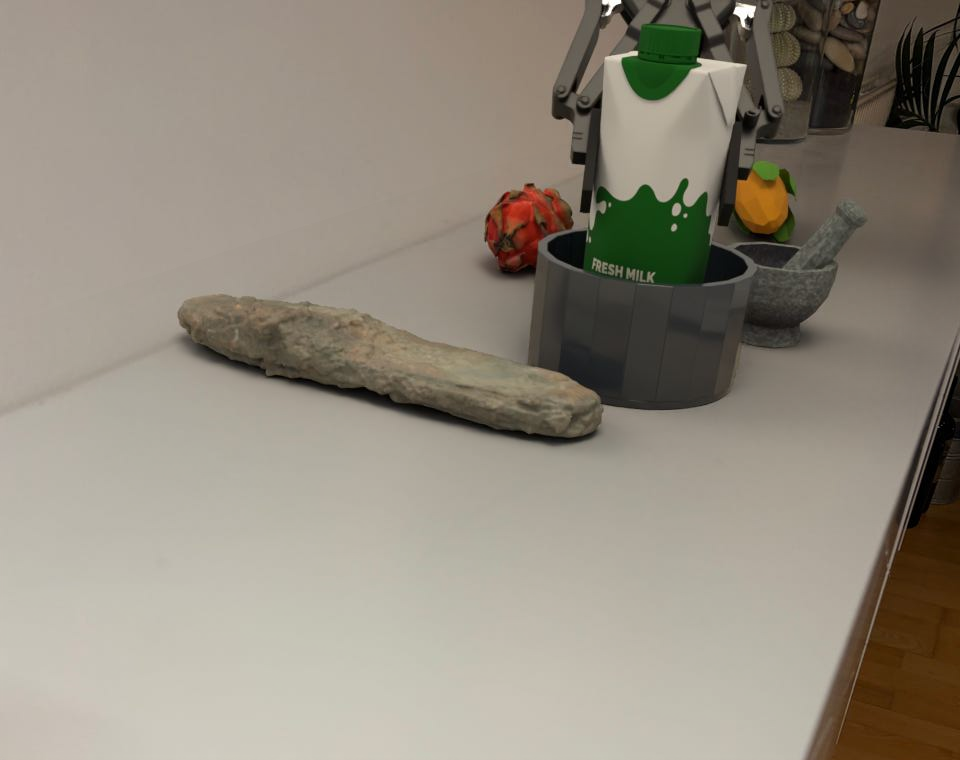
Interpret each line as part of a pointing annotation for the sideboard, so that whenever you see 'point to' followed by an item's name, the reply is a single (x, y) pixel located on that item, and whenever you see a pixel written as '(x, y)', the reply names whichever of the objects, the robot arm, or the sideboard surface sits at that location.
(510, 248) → the dragon fruit
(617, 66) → the milk carton
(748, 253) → the mortar and pestle
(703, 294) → the pot
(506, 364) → the long grey stone
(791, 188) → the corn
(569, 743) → the sideboard surface
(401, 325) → the sideboard surface
